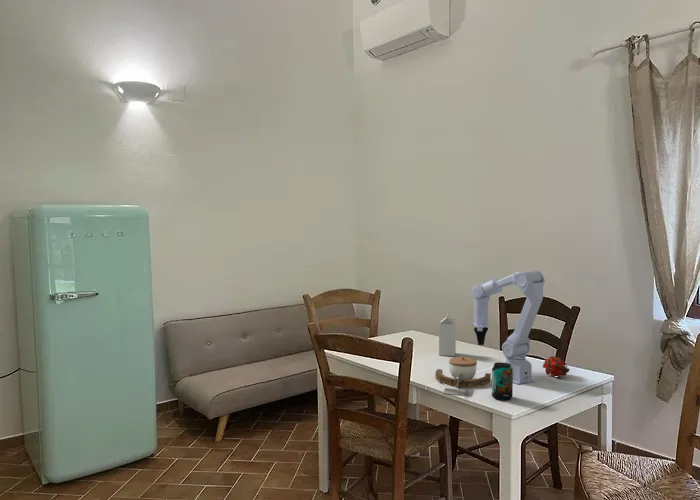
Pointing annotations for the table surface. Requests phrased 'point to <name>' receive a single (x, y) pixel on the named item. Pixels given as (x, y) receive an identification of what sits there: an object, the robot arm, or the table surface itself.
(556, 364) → the dragon fruit
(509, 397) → the beverage can
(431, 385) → the table surface
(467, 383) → the yoke
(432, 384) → the table surface
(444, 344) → the milk carton
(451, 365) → the lidded jar
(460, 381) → the indicator
